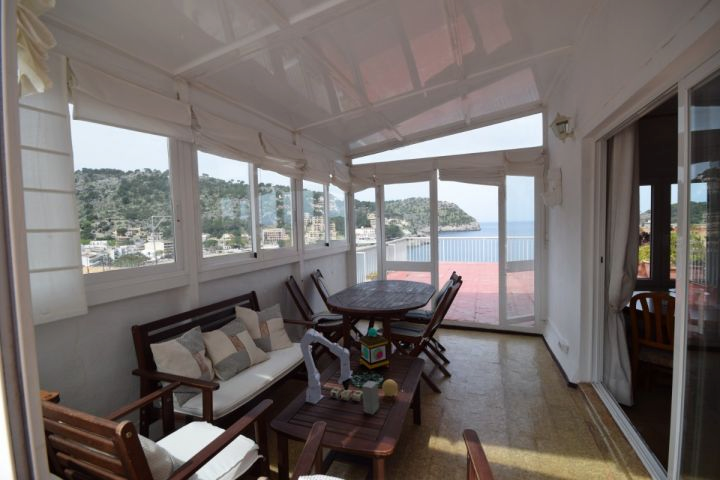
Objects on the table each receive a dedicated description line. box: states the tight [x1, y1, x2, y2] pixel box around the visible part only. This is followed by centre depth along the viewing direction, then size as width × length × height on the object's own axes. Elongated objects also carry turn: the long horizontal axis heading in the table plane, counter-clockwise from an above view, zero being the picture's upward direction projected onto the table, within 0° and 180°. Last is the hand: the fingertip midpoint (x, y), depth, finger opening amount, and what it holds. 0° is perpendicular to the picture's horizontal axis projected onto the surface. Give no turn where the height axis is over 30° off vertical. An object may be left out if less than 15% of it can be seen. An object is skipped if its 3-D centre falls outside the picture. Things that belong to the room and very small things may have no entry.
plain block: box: [340, 389, 353, 401], centre depth 201 cm, size 5×5×4 cm
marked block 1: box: [330, 387, 343, 399], centre depth 204 cm, size 5×5×4 cm
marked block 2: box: [352, 390, 363, 402], centre depth 199 cm, size 5×5×4 cm
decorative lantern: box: [358, 327, 390, 373], centre depth 242 cm, size 20×20×30 cm
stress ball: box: [381, 378, 399, 397], centre depth 201 cm, size 10×10×10 cm
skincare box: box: [361, 380, 380, 415], centre depth 187 cm, size 8×7×16 cm
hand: (346, 389), depth 201 cm, fingers closed
